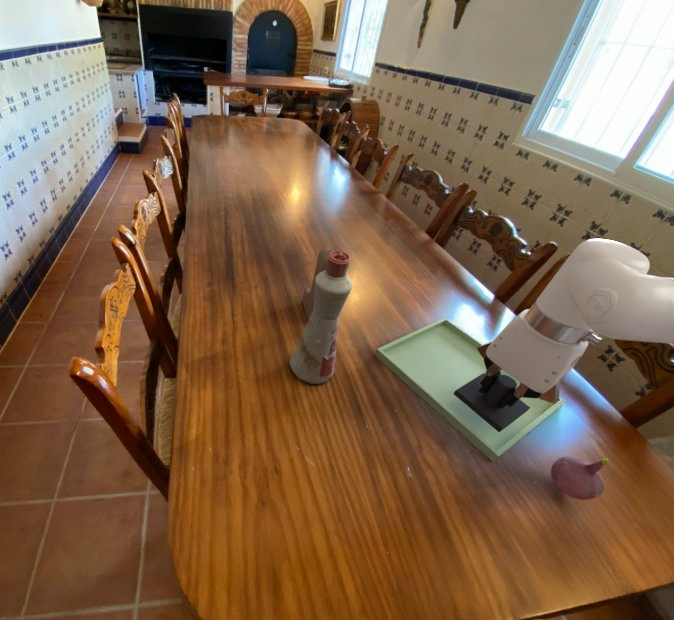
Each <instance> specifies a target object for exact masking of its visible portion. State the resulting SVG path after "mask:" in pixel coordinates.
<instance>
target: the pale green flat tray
mask: <svg viewBox="0 0 674 620" xmlns="http://www.w3.org/2000/svg"><path fill="white" fill-rule="evenodd" d="M483 344H484V342H482V341H481V340H479V339H478V338H476V337H475V336H473V335H471V333H469V332H467V331H466V330H465V329H463V328H461V326H459V325H457V324H456V323H455V322H453V321H452V320H450V319H449V318H447V317H446V316H444V317H443V318H440V319H437V320H436V321H434V322H432V323H430V324H427V325H426V326H423V327H421V328H419V329H416V330H415V331H412V332H410V333H408V334H406V335H404V336H401V337H400V338H397V339H395V340H393V341H390V342H389V343H386V344H384V345H382V346H379V347H377V348H376V350H375V353H374V356H375V357H376V358H377V359H378V360H379V361H380V362H381V363H382V364H383V365H385V366H386V367H387V368H388V369H389V370H390V371H391V372H393V373H394V375H396V376H397V377H398V378H399V379H400V380H401V381H402V382H403V383H404V384H406V385H407V386H408V387H409V388H410V389H411V390H412V391H413V392H414V393H416V394H417V396H419V397H420V398H422V400H423V401H425V403H426V404H428V405H429V406H430V407H431V408H432V409H433V410H434V411H435V412H437V414H439V415H440V417H442V418H443V419H444V420H445V421H446V422H448V423H449V425H450V426H452V427H453V428H455V430H456V431H457V432H458V433H460V434H461V435H462V436H463V437H464V438H465V439H466V440H468V442H470V443H471V444H472V445H473V446H474V447H475V448H476V449H478V451H480V452H481V453H482V454H483V455H484V456H485V457H486V458H487V459H489V460H490V461H491V462H492V463H494V462H495V461H497V459H499V458H501V456H502V455H504V454H505V453H506V452H508V451H509V450H510V449H512V447H514V446H515V445H516V444H517V443H518V442H520V441H521V440H522V439H523V438H524V437H526V436H527V435H528V434H529V433H531V432H532V431H533V430H534V429H536V428H537V427H538V426H539V425H540V424H542V423H543V422H544V421H546V419H548V418H550V417H551V415H553V414H554V413H556V412H557V411H558V410H559V409H560V408H561V407H562V406H563V405H564V404H566V402H567V400H566V399H564V398H563V397H561V395H559V399H558V400H557V401H556V402H554V403H550V402H547V401H544V400H541V399H539V398H525V397H522V398H520V400H521V401H523V402H524V403H525V404H527V405H528V406H529V407H530V409H529V410H528V411H527V412H525V413H524V414H523V415H521V416H520V417H519V418H518V419H516V420H515V421H514V422H512V423H511V424H510V425H508V426H507V427H506V428H504V429H503V430H502V431H500V432H498V431H497V430H495V429H494V428H493V427H492V426H491V425H490V424H488V423H487V422H486V421H485V420H484V419H482V418H481V417H480V416H479V415H478V414H476V413H475V412H474V411H473V410H472V409H471V408H469V407H468V406H467V405H466V404H465V403H463V402H462V401H461V400H460V399H459V398H457V397H456V396H455V395H454V394H453V393H454V392H455V391H456V390H457V389H458V388H460V387H462V386H463V385H465V384H467V383H468V382H470V381H471V380H473V379H475V378H476V377H478V376H480V375H481V374H483V373H485V374H486V371H487V369H486V366H485V363H484V358H482V356H481V354H480V353H479V351H478V350H477V348H478V347H479V346H481V345H483ZM500 372H501V375H507V376H509V377H511V378H513V379H514V380H515V381H516V383H517V387H518V386H519V385H520V383H521V382H520V381H519V380H517V379H516V378H515V377H513V376H512V375H510V374H509V373H508V372H506V371H505V370H503V369H502V370H501V371H500ZM517 387H516V388H517ZM516 388H515V389H516Z"/></svg>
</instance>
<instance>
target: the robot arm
mask: <svg viewBox="0 0 674 620" xmlns="http://www.w3.org/2000/svg"><path fill="white" fill-rule="evenodd" d="M650 267H651V264H650V260H649V259H648V256H646V255H645V254H644V253H643V252H641V251H639V250H638V249H636V248H634V247H633V246H629V245H627V244H624V243H622V242H618V241H615V240H611V239H603V238H591V239H587V240H584V241H582V242H581V243H579V244H578V245H577V246H576V247H575V248H574V250H573V251H572V252H571V253H570V255H569V256H568V257H567V258H566V260H565V261H564V262H563V263H562V265H561V266H560V268H559V269H558V271H557V272H556V273H555V274H554V276H553V277H552V279H551V280H550V281H549V282H548V284H547V285H546V286H545V288H544V289H543V291H541V293H540V295H539V296H538V297H537V299H535V301H534V303H532V305H531V307H529V308H526V309H524V310H523V311H521V312H520V313H519V314H517V315H516V316H515V317H514V318H513V319H512V320H511V321H510V322H509V323H508V324H507V325H506V326H505V327H504V328H503V329H502V330H501V331H500V332H499V333H498V335H497V336H496V337H495V338H494V339H493V340H492V341H489V342H486V343H483V345H481V346H479V347H478V348H477V350H478V351H479V353H480V354H481V356H482V358H484V363H485V366H486V369H487V371H486V376H485V377H484V379H483V380H482V381H481V383H480V384H481V385H482V387H481V388H480V390H479V392H480V393H484V392H486V391H487V389H488V388H489V387H490V386H491V384H492V383H493V382H494V381H495V379H496V378H497V377H498V376H499V375H501V372H500V371H501V370H502V369H503V370H505V371H506V372H508V373H509V374H510V375H512V376H513V377H515V378H516V379H517V380H519V381H520V382H521V383H520V385H519V386H518V387H517V388H516V389H514V390H513V391H511V392H510V393H509V394H508V395H507V396H506V397H505V398H504V399H503V400H502V402H501V403H500V404H499V405H498V406H499V408H500V409H502V408H504V407H505V406H507V405H508V406H509V407H512V406H513V405H514V404H516V402H517V401H518V400H519V399H520V398H522V397H525V398H539V399H541V400H544V401H547V402H550V403H554V402H556V401H557V400H558V399H559V396H560V390H561V389H560V388H561V387H560V386H561V381H562V380H564V378H565V377H566V376H568V374H569V373H570V371H572V369H573V368H575V366H576V365H577V363H578V362H579V360H581V358H582V356H583V355H584V353H585V352H586V350H587V349H588V346H589V344H592V345H594V346H597V345H599V343H601V341H603V339H604V338H608V339H613V340H618V341H629V342H630V341H631V342H642V343H659V344H660V343H661V344H669V345H670V344H671V345H674V277H667V276H657V275H651V274H648V272H649V270H650Z"/></svg>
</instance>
